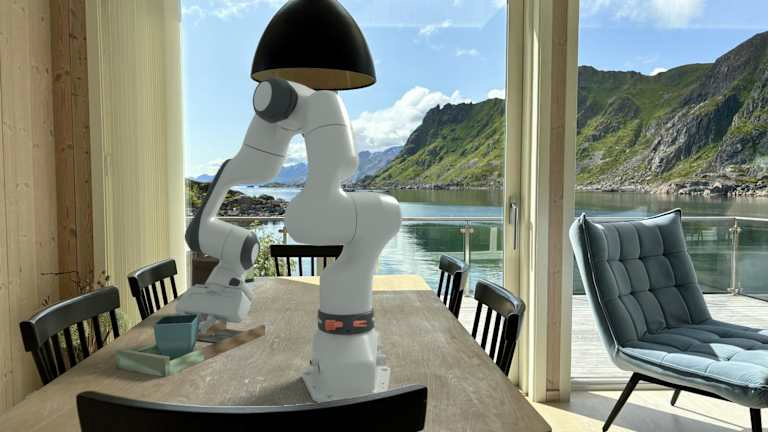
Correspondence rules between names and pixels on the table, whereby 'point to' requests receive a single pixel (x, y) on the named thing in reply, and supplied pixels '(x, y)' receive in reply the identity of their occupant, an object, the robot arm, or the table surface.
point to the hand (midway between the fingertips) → (197, 332)
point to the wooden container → (203, 269)
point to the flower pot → (176, 334)
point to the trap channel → (162, 366)
